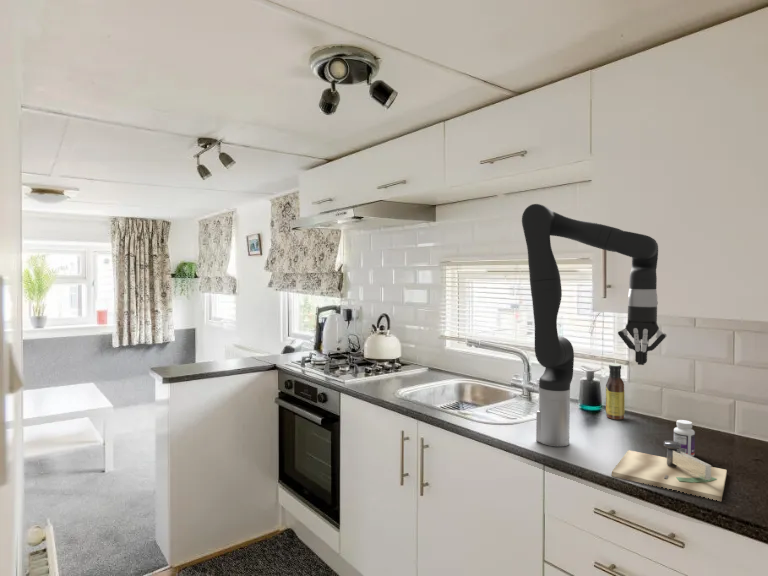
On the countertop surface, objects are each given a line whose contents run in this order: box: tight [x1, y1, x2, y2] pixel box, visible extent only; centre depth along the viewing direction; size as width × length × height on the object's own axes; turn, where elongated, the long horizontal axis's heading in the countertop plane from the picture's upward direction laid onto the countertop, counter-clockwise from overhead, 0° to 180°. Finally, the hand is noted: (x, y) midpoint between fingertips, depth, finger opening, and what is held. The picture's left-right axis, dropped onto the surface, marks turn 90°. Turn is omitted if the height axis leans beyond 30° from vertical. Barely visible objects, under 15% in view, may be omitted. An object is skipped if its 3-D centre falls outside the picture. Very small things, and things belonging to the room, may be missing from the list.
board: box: [611, 449, 728, 503], centre depth 132 cm, size 24×20×1 cm
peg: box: [663, 440, 712, 480], centre depth 130 cm, size 14×4×6 cm, turn 10°
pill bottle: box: [673, 419, 696, 457], centre depth 147 cm, size 5×5×10 cm
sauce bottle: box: [605, 363, 626, 421], centre depth 184 cm, size 6×6×20 cm
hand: (641, 364), depth 145 cm, fingers closed
